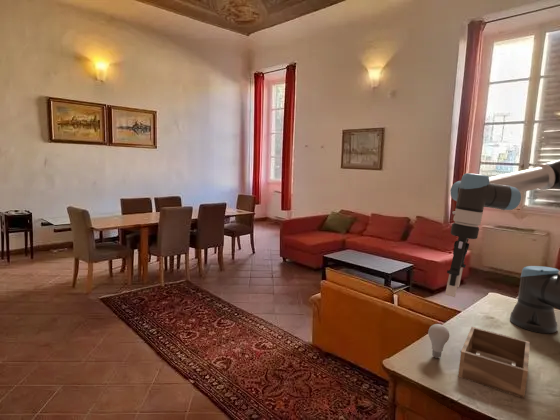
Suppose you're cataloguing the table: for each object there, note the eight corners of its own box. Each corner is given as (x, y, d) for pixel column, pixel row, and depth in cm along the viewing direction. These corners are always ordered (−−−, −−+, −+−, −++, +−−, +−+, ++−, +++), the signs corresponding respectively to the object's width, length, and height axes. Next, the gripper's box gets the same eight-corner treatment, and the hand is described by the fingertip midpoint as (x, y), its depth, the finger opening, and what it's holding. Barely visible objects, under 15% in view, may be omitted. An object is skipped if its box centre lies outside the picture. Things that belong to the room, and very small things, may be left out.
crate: (469, 348, 122) (471, 326, 121) (526, 365, 113) (529, 341, 112) (458, 376, 106) (461, 351, 105) (524, 398, 97) (527, 371, 96)
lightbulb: (421, 354, 118) (424, 321, 116) (436, 351, 120) (439, 319, 118) (435, 364, 112) (439, 330, 110) (451, 361, 114) (454, 327, 113)
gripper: (456, 219, 124) (444, 279, 127) (448, 224, 103) (433, 296, 105) (481, 224, 121) (468, 285, 123) (477, 229, 99) (462, 304, 102)
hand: (452, 290), depth 114 cm, fingers open, 13 cm apart
